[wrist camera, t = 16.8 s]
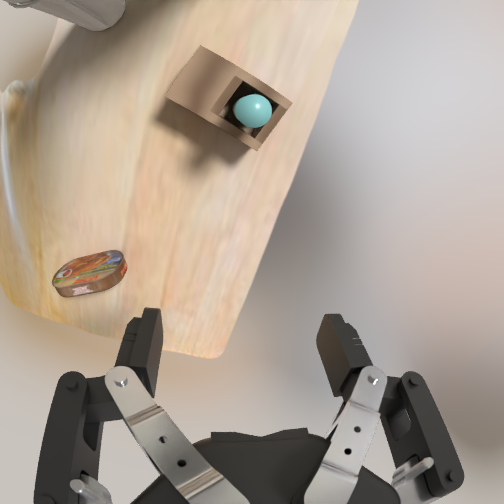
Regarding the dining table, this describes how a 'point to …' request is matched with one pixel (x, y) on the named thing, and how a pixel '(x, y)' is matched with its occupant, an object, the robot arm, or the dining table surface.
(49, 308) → the dining table surface
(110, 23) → the water bottle
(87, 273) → the tin
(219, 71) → the socket
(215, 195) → the dining table surface
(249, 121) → the peg
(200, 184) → the dining table surface
